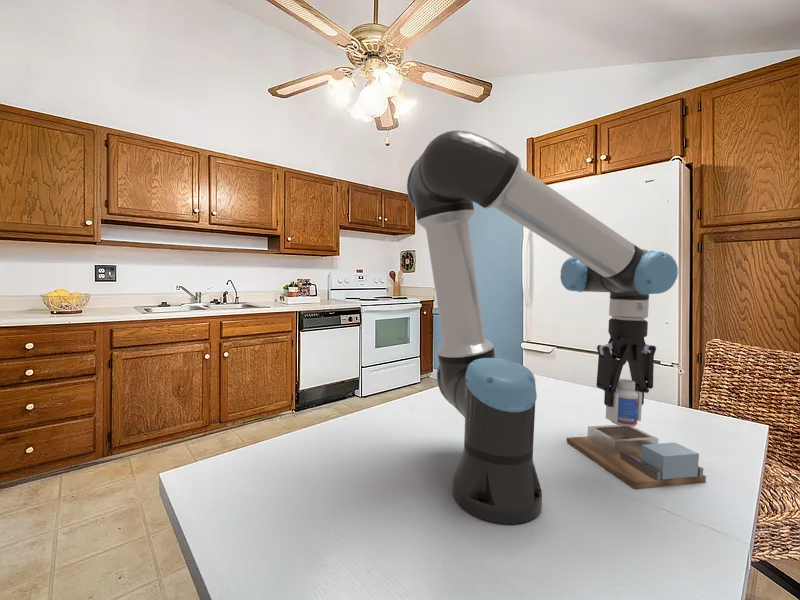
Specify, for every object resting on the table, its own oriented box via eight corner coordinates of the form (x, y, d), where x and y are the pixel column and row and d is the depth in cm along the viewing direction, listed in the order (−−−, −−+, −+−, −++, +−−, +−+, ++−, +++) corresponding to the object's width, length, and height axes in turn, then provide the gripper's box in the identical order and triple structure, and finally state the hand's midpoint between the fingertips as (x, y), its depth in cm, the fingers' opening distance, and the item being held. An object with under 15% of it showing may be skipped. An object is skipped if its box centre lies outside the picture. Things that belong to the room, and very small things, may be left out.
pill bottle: (641, 428, 81) (643, 384, 81) (614, 426, 82) (616, 383, 82) (631, 419, 87) (633, 378, 86) (606, 417, 88) (607, 377, 87)
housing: (662, 479, 70) (663, 456, 69) (640, 466, 75) (641, 444, 74) (697, 476, 71) (699, 453, 71) (673, 463, 76) (675, 442, 76)
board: (634, 488, 69) (635, 482, 69) (566, 442, 88) (567, 437, 88) (705, 482, 72) (706, 476, 72) (624, 438, 91) (624, 434, 91)
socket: (614, 455, 79) (615, 441, 79) (587, 438, 88) (587, 426, 88) (657, 452, 82) (658, 438, 81) (627, 436, 90) (627, 424, 90)
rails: (657, 480, 69) (657, 472, 69) (620, 458, 78) (620, 450, 78) (702, 476, 71) (703, 468, 71) (661, 454, 80) (662, 447, 80)
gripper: (604, 320, 78) (599, 428, 79) (677, 320, 81) (672, 423, 82) (580, 316, 85) (576, 415, 86) (648, 316, 89) (643, 411, 90)
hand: (623, 419), depth 84 cm, fingers closed on pill bottle, 5 cm apart
